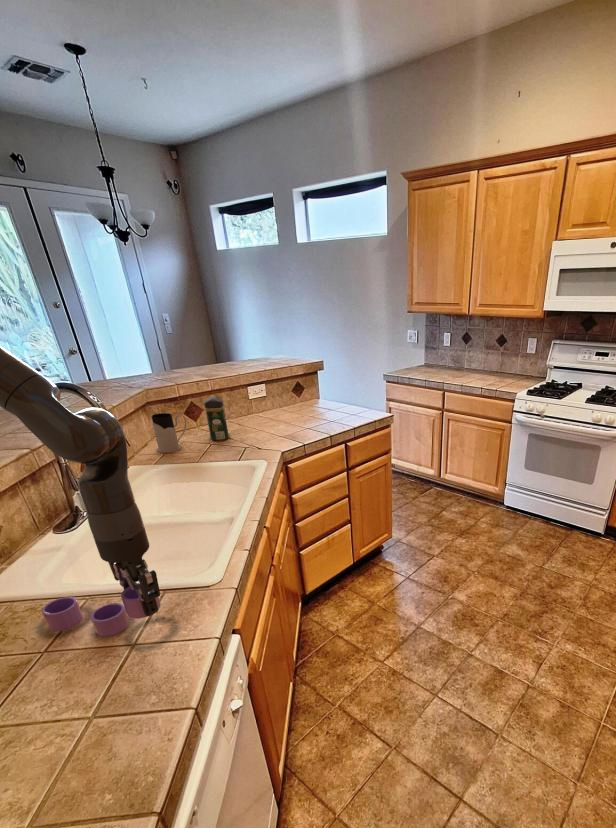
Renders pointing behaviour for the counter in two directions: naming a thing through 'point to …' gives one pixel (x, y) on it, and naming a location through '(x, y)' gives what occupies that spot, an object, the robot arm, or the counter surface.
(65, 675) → the counter surface
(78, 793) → the counter surface
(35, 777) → the counter surface
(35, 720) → the counter surface
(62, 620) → the purple short hollow cylinder
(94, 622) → the dish middle
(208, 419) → the coffee jar
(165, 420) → the grey mug
